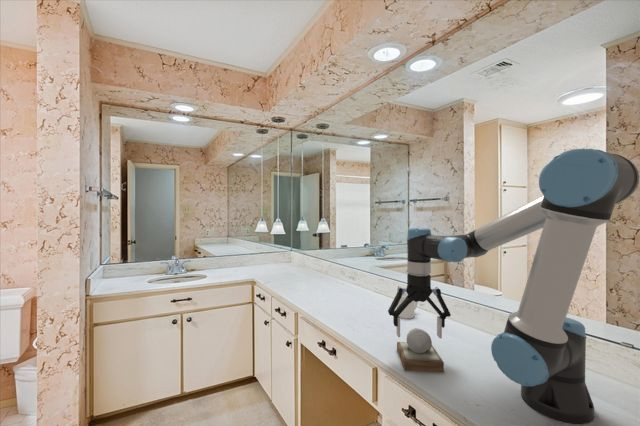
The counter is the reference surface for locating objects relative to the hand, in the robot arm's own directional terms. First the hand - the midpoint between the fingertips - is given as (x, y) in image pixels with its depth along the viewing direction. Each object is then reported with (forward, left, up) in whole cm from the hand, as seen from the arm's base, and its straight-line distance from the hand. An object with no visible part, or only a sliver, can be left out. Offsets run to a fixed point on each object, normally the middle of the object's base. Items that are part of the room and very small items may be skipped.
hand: (418, 336), depth 102 cm
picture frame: (0, 0, -8) cm, 8 cm away
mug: (+44, -6, -8) cm, 45 cm away
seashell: (+2, 0, -5) cm, 6 cm away
